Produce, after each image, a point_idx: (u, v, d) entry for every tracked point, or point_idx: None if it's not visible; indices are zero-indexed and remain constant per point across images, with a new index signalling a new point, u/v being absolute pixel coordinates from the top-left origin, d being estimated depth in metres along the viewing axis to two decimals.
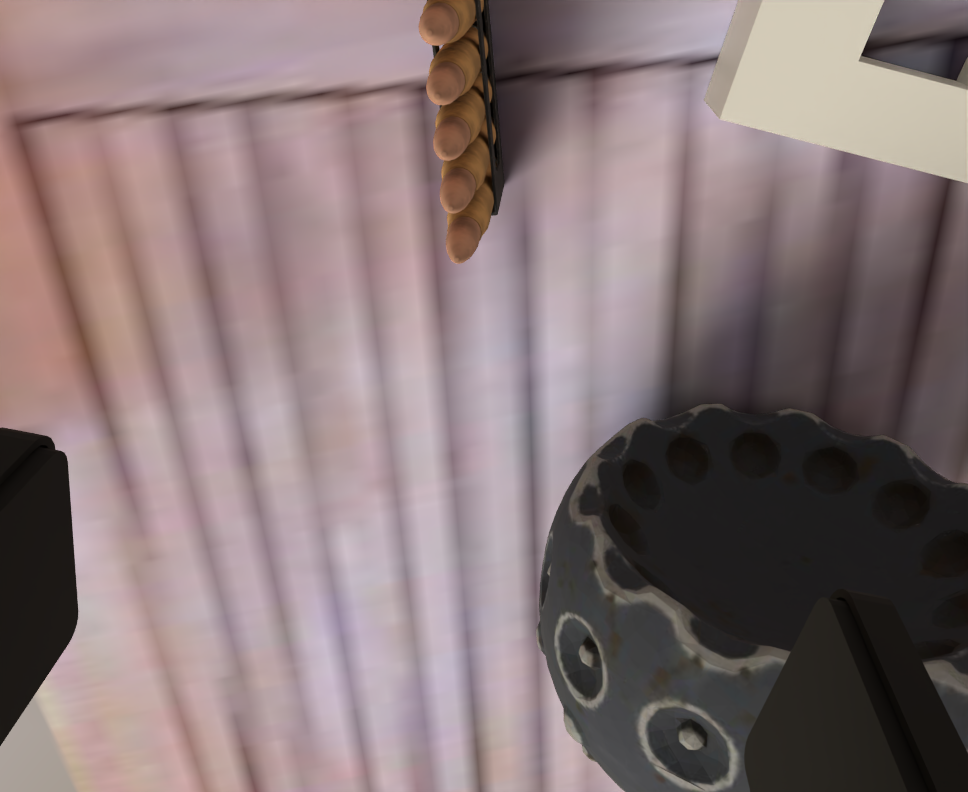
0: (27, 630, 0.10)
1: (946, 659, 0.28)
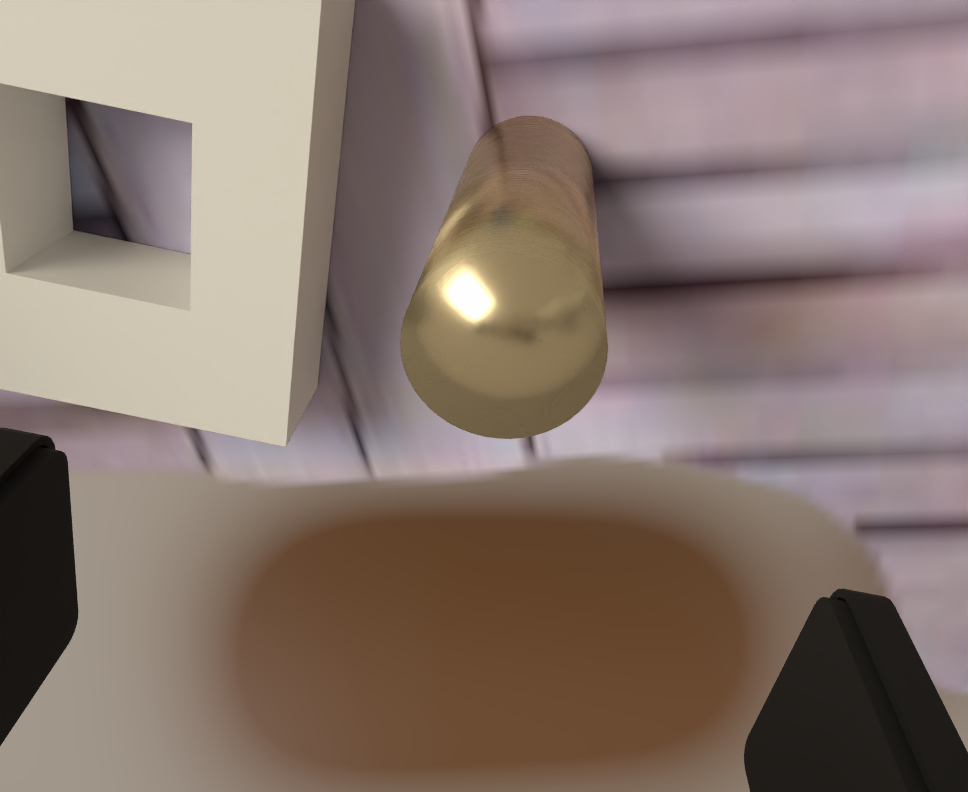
0: (27, 630, 0.10)
1: None
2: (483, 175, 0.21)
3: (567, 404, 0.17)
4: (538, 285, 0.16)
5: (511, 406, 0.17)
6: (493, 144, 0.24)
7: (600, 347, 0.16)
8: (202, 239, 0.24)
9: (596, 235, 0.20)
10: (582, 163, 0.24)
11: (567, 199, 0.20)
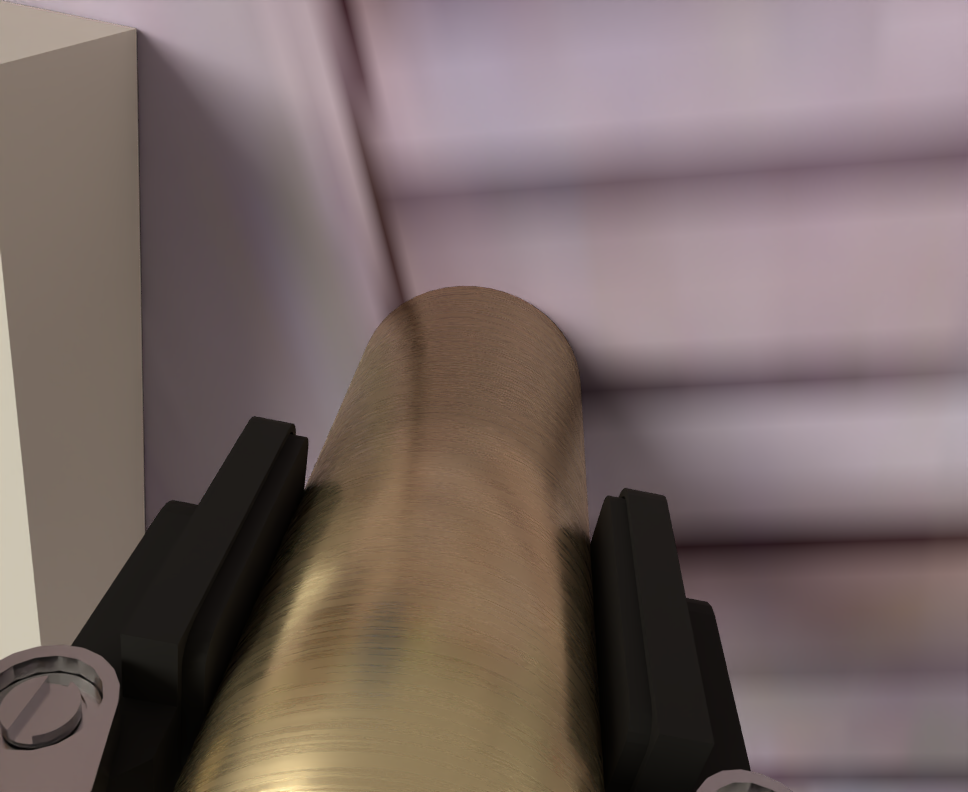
0: None
1: None
2: (340, 509, 0.09)
3: None
4: None
5: None
6: (388, 373, 0.12)
7: None
8: None
9: (591, 661, 0.09)
10: (561, 401, 0.13)
11: (522, 613, 0.08)
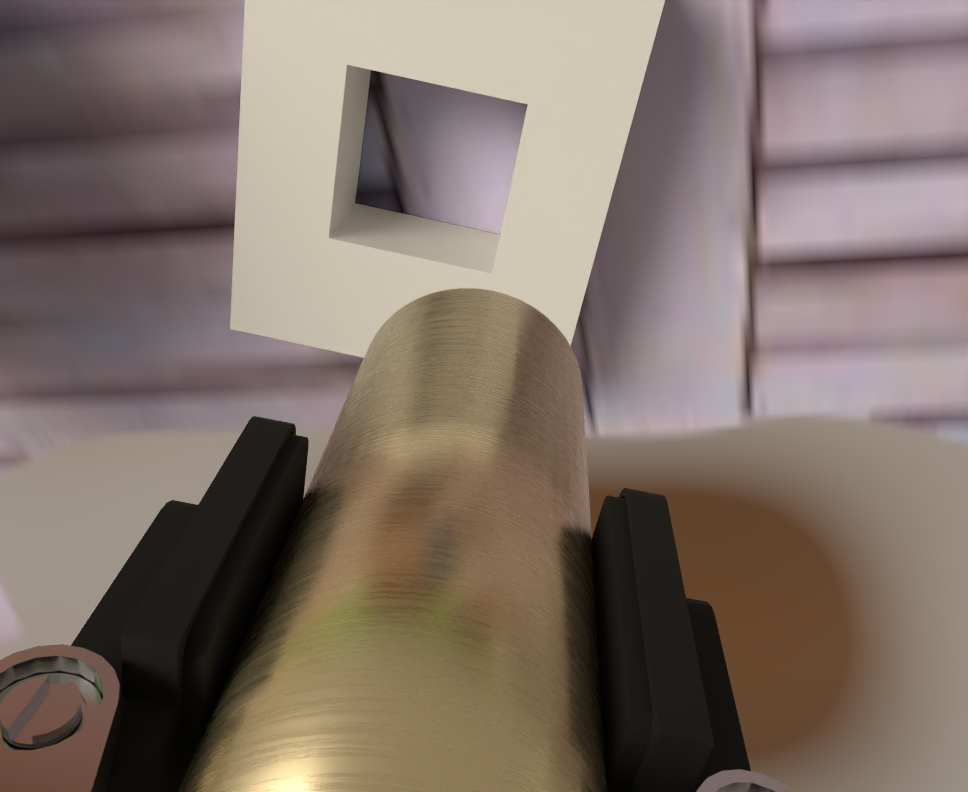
0: None
1: None
2: (342, 512, 0.09)
3: None
4: None
5: None
6: (390, 375, 0.12)
7: None
8: (516, 208, 0.28)
9: (594, 665, 0.09)
10: (563, 403, 0.13)
11: (525, 617, 0.08)
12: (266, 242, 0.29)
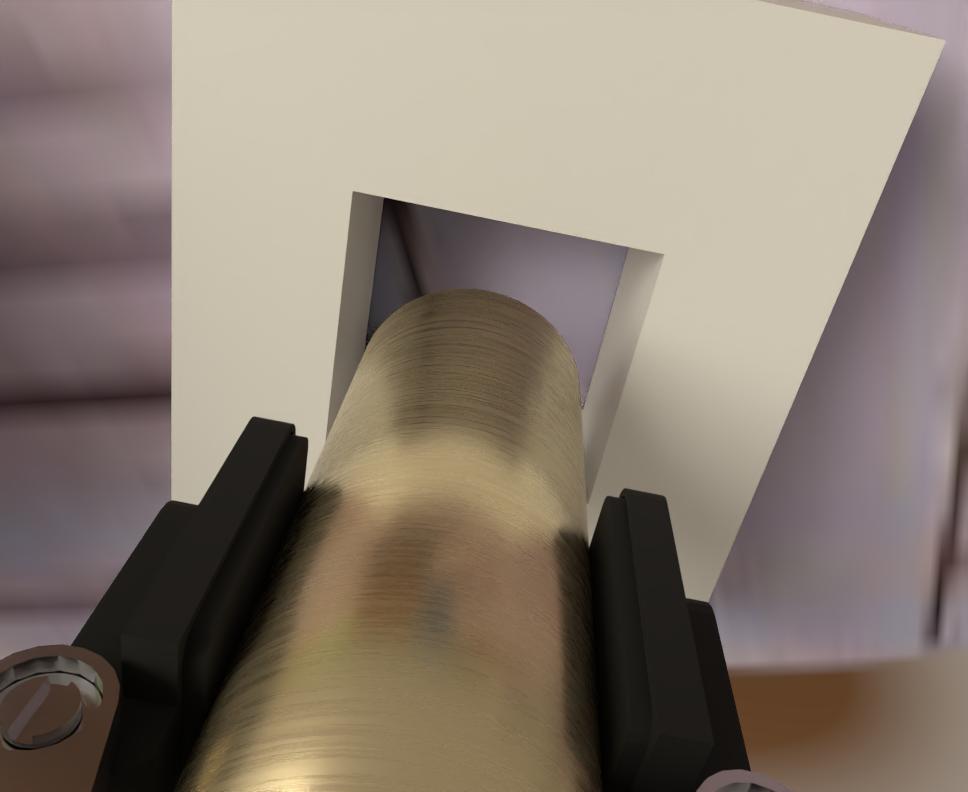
0: None
1: None
2: (338, 513, 0.09)
3: None
4: None
5: None
6: (387, 376, 0.12)
7: None
8: (633, 412, 0.17)
9: (590, 666, 0.09)
10: (560, 404, 0.13)
11: (521, 618, 0.08)
12: (224, 457, 0.18)
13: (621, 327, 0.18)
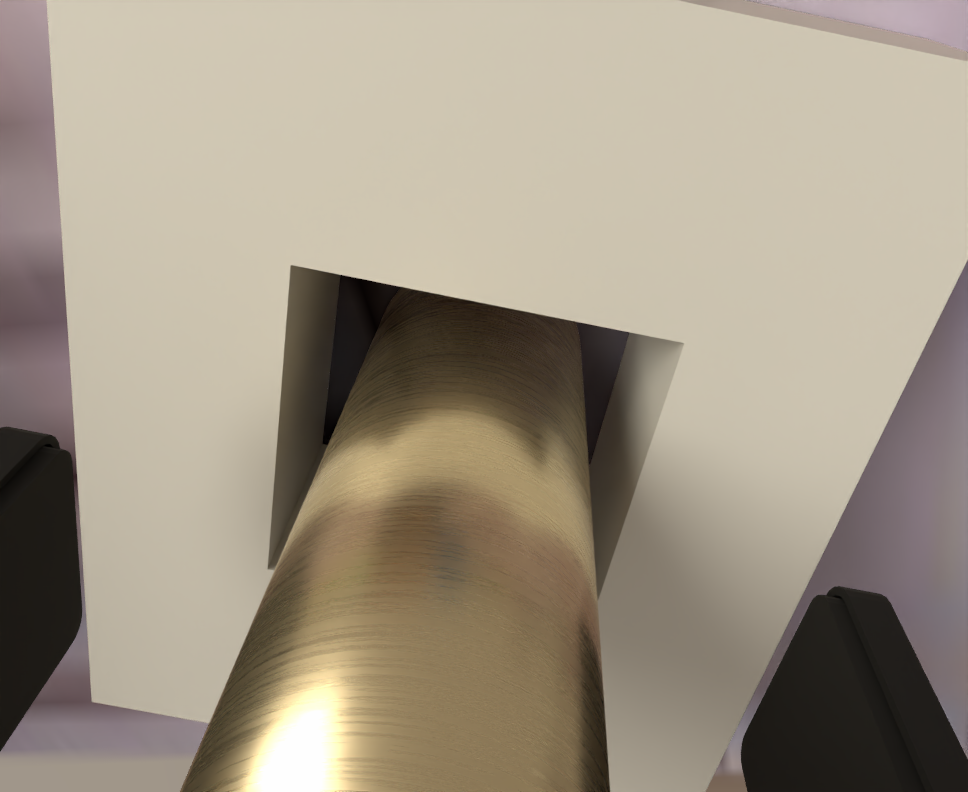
0: (31, 629, 0.10)
1: None
2: (370, 438, 0.11)
3: None
4: None
5: None
6: (407, 330, 0.14)
7: None
8: (644, 526, 0.14)
9: (591, 568, 0.10)
10: (563, 357, 0.14)
11: (531, 520, 0.09)
12: (147, 573, 0.15)
13: (627, 413, 0.15)
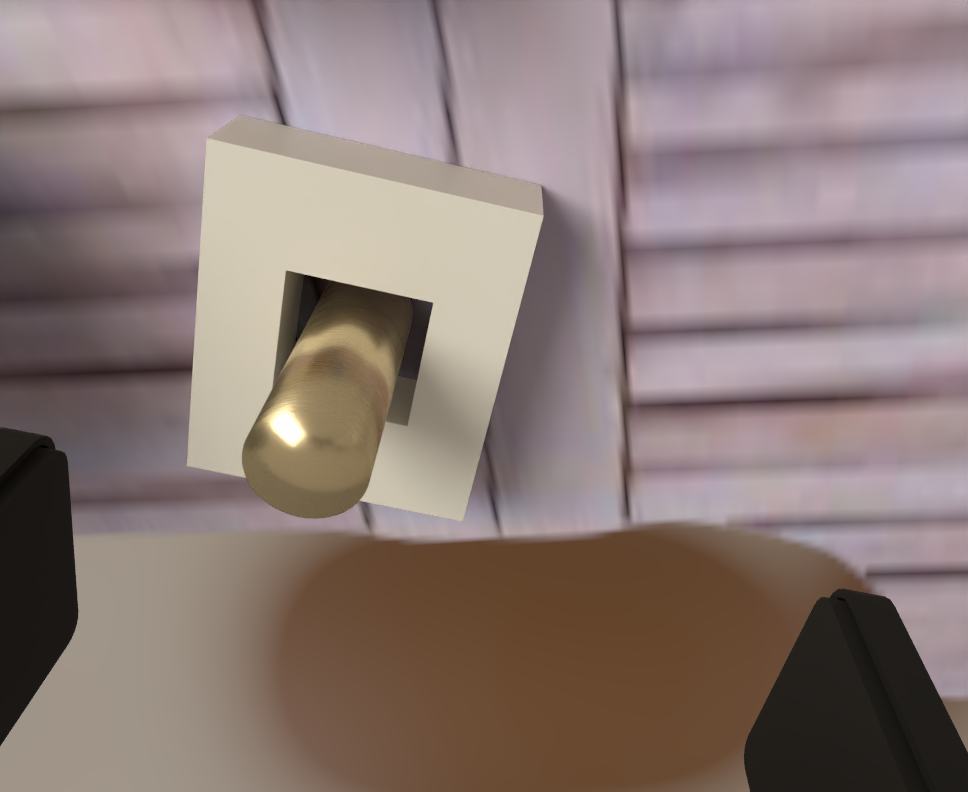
0: (27, 630, 0.10)
1: None
2: (314, 331, 0.31)
3: (349, 498, 0.27)
4: (324, 429, 0.26)
5: (314, 499, 0.27)
6: (331, 297, 0.34)
7: (366, 465, 0.26)
8: (426, 378, 0.34)
9: (388, 375, 0.30)
10: (395, 309, 0.34)
11: (365, 354, 0.30)
12: (218, 399, 0.35)
13: None
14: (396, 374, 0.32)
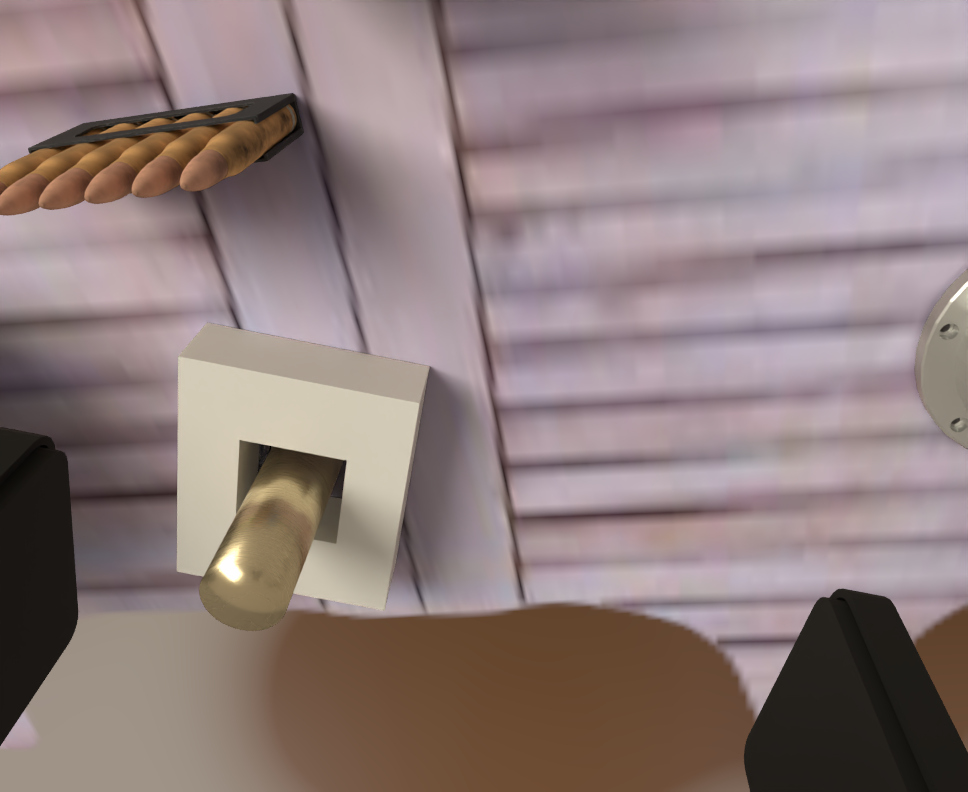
0: (27, 630, 0.10)
1: None
2: (258, 488, 0.43)
3: (274, 618, 0.39)
4: (253, 575, 0.38)
5: (250, 618, 0.39)
6: (276, 453, 0.46)
7: (283, 597, 0.38)
8: (346, 511, 0.46)
9: (310, 519, 0.42)
10: (324, 459, 0.46)
11: (291, 508, 0.42)
12: (197, 526, 0.47)
13: None
14: (319, 514, 0.44)
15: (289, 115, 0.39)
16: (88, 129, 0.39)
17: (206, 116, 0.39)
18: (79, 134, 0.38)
